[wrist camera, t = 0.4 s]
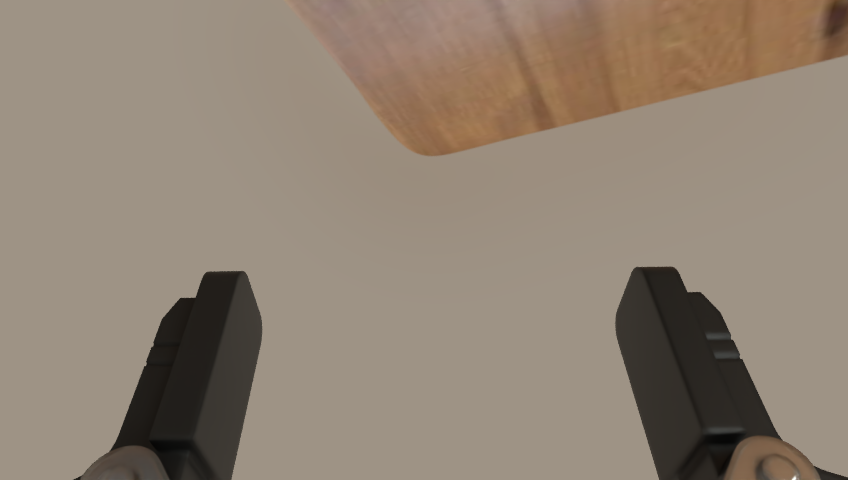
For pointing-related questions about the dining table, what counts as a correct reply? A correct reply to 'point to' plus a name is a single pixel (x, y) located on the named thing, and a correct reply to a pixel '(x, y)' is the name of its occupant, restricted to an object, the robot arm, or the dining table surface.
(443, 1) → the dining table surface
